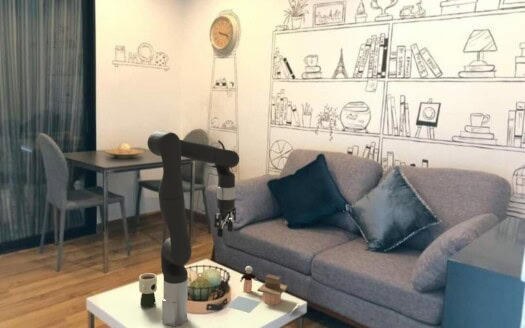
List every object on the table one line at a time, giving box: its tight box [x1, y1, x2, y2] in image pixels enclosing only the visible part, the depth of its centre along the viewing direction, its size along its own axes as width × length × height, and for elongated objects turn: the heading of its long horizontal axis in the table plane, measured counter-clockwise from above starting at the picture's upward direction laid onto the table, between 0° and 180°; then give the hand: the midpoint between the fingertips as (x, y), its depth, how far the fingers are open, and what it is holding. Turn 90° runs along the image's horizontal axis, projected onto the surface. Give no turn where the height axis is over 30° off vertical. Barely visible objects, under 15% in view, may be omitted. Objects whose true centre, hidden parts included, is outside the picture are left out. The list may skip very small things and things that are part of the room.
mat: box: [226, 295, 261, 314], centre depth 186 cm, size 11×11×1 cm
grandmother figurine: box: [239, 265, 258, 293], centre depth 198 cm, size 8×4×13 cm, turn 112°
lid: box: [257, 274, 289, 296], centre depth 189 cm, size 10×10×6 cm
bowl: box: [261, 292, 282, 306], centre depth 190 cm, size 8×8×6 cm
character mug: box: [138, 272, 158, 309], centre depth 182 cm, size 11×7×13 cm, turn 175°
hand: (225, 233), depth 186 cm, fingers open, 8 cm apart
